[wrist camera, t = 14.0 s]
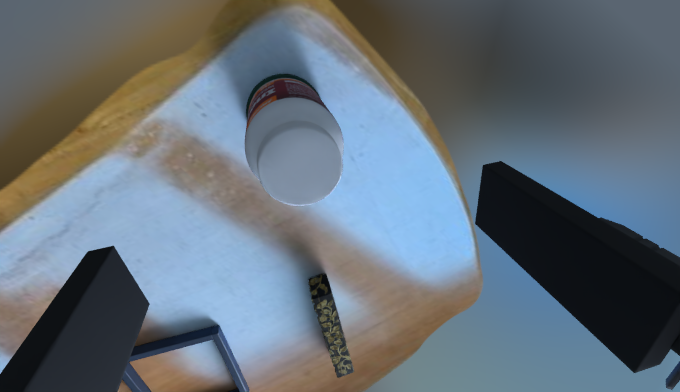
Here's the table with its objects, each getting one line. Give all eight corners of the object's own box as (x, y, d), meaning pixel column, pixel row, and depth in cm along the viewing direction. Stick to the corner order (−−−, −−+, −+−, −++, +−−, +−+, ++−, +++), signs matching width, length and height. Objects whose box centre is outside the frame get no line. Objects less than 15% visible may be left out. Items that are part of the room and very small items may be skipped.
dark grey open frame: (112, 352, 35) (108, 362, 34) (219, 324, 37) (218, 333, 36) (161, 414, 42) (158, 424, 41) (249, 388, 43) (249, 397, 42)
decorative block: (306, 277, 36) (311, 300, 33) (326, 271, 36) (333, 294, 33) (331, 355, 44) (337, 380, 41) (348, 350, 44) (355, 374, 41)
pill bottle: (258, 64, 24) (259, 92, 15) (332, 91, 26) (374, 130, 17) (239, 139, 26) (230, 205, 17) (309, 158, 29) (334, 225, 19)
